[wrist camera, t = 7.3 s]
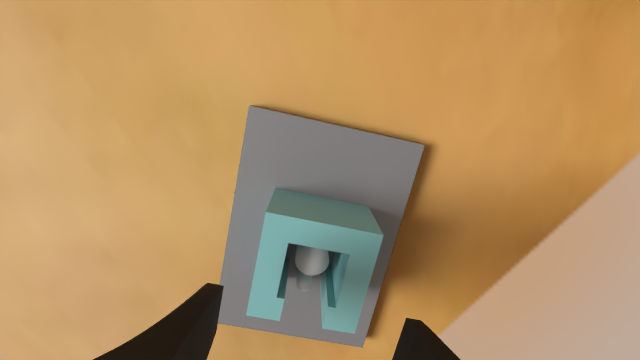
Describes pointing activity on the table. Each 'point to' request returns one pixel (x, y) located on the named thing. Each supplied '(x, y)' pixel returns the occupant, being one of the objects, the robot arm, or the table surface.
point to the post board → (319, 180)
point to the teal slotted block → (323, 233)
